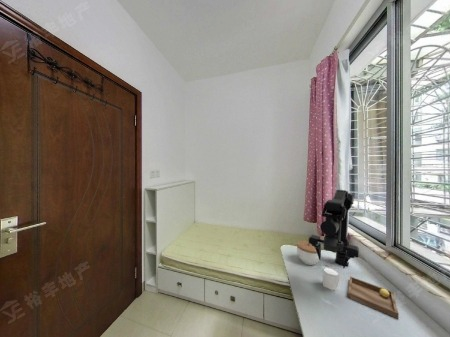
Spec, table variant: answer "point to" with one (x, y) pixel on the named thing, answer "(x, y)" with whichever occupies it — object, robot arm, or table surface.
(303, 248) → the lidded bowl
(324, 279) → the white cup
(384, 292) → the ball
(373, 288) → the tray
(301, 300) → the table surface
